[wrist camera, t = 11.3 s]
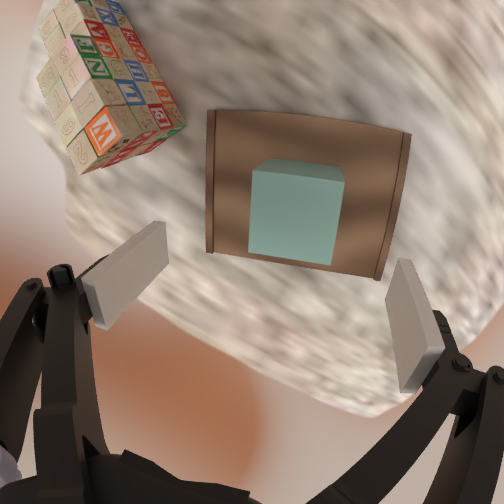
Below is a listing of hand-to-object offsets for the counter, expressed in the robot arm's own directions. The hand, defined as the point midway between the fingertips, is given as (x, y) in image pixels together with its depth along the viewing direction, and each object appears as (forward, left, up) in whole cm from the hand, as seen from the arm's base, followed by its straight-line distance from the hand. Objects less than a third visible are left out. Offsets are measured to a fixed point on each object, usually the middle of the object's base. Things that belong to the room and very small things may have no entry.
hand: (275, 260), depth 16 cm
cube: (0, 0, -15) cm, 15 cm away
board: (0, 0, -17) cm, 17 cm away
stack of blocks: (-13, -21, -17) cm, 30 cm away
